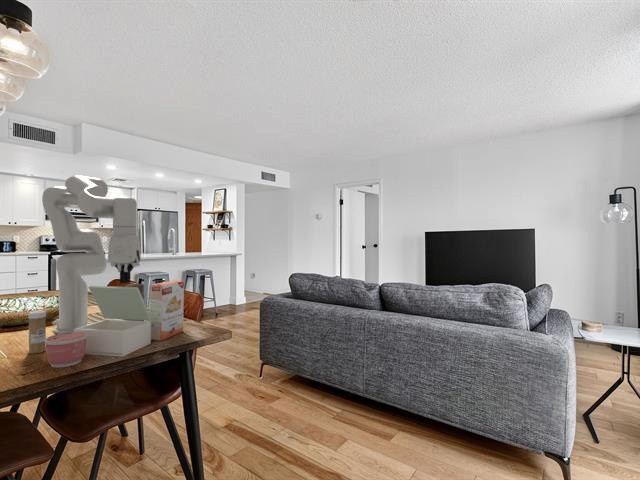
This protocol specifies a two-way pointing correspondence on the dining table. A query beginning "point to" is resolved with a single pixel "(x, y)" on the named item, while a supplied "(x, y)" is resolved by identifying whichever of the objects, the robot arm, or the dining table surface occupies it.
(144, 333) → the box
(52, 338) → the container
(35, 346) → the sprinkles bottle
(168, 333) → the cracker box
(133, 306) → the lid
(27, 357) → the dining table surface
